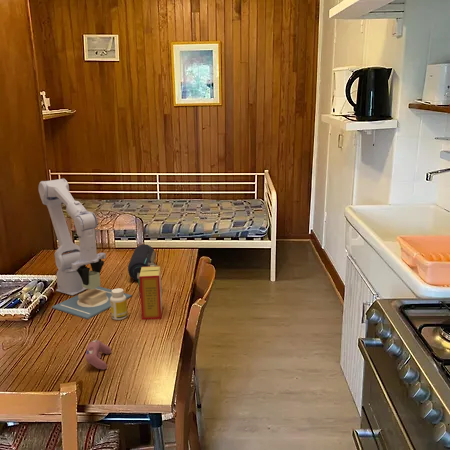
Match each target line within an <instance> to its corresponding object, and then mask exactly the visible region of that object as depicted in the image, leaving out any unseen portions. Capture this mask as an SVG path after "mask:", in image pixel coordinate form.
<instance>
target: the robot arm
mask: <svg viewBox="0 0 450 450" xmlns="http://www.w3.org/2000/svg"><path fill="white" fill-rule="evenodd" d="M38 193H39V198H40V199H41V202H42V203H41V204H43V205H44V206H46V207H47V209H48V213H49V217H50V219H51V223H52V226H53V229H54V232H55V236H56V239H57V242H58V248H57V249H56V250H55V252H54V259H55V265H56V267H57V269H58V270H57V272H56V283H57V288H56V289H55V290H56V292H59V293H62V294H67V295H69V296H74V295H75V296H76V295H78V294H80V293H83V292H85V290H86V291H87V290H88V289H87V288H84V287H83V285H82V282H83V284H84V285H89V271H95V272H99V273H100V274H101V271H102V268H103V266H104V264H105V261H104V259H106V258H107V255H106V254H107V253H105V252H99V253H98V251H97V242H96V240H97V239H96V229H97V228H98V219H97V216H96V214H95V212H92V211H89V210H88V209H86V207H84V205H83V204H82V202H80V201H79V200H75V199H74V196H72V194H71V192H70V186H69V182H68V181H67V180H66V179H65V178H60V179H59V178H58V179H51V180H41V181H40V182H39V184H38ZM62 204H63V205H65V206H66V208H65V209H66V213H67V214H68V215H69V216H70V217H71V219H72V220H73V225H74V228H75V231H76V234H77V236H78V242H79V243H78V244H79V245H78V244H76V243H74V242H73V240H72V236H71V233H70V230H69V227H68V224H67V221H66V220H67V219H66V217H65V214H64V212H63V208H62V207H63V206H62ZM102 259H103V260H102ZM87 265H90V267H87ZM90 268H91V270H90Z"/></svg>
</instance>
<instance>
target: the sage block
mask: <svg viewBox="0 0 450 450" xmlns="http://www.w3.org/2000/svg"><path fill="white" fill-rule="evenodd" d="M82 285H83V287H84V288H87V289H86V290H90V289H91V290H92V289H94V288H96V287H98V286H99V287H102V286H101V285H102V284H101V272H100V273H99V272H95V271H92V270H89V285H84V284H83V282H82Z"/></svg>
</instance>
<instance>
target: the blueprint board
mask: <svg viewBox="0 0 450 450" xmlns="http://www.w3.org/2000/svg"><path fill="white" fill-rule="evenodd" d="M112 290H113V289H110V288H106V287H102V286H98V287H96V288H94V289H92V290H91V289H86V291H85V290H84V291H82V292H80V293H77V294H76V295H75V296H74V295H73V296H72V297H70V298H68V299H66V300H64V301H62V302H59V303H57V304H55V305H52V307H51V308H52V309H53V310H57V311H60V312H63V313H66V314H70V315H73V316H75V317H78V318H81V319H84V320H89V319H91V318H93V317H95V316H97V315H99V314H101V313H103V312H105V311H107V310H108V309H111V306H110V298H111V296H112ZM123 295H125V296H126V300H127V299H130V298H132V294H128V293H126V292H125V293H124V294H123Z"/></svg>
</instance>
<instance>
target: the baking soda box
mask: <svg viewBox="0 0 450 450" xmlns="http://www.w3.org/2000/svg"><path fill="white" fill-rule="evenodd" d="M161 272H162V271H161V265H157V266H150V267H141V272H140V276H139V280H140V293H139V297H140V296H141V297H140V310H141V320H142V321H144V320H160V319H161V320H162V315H163V314H162V313H163V294H162V293H163V290H162V273H161Z"/></svg>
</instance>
